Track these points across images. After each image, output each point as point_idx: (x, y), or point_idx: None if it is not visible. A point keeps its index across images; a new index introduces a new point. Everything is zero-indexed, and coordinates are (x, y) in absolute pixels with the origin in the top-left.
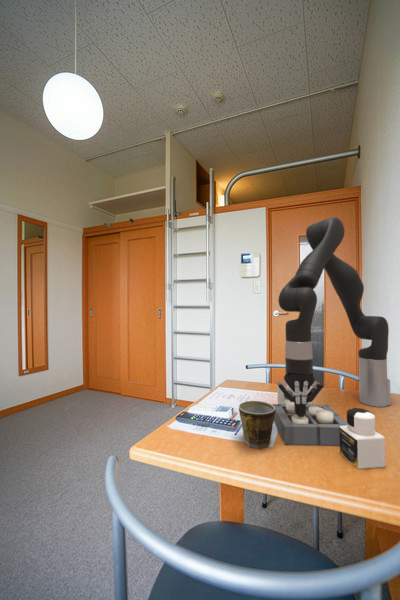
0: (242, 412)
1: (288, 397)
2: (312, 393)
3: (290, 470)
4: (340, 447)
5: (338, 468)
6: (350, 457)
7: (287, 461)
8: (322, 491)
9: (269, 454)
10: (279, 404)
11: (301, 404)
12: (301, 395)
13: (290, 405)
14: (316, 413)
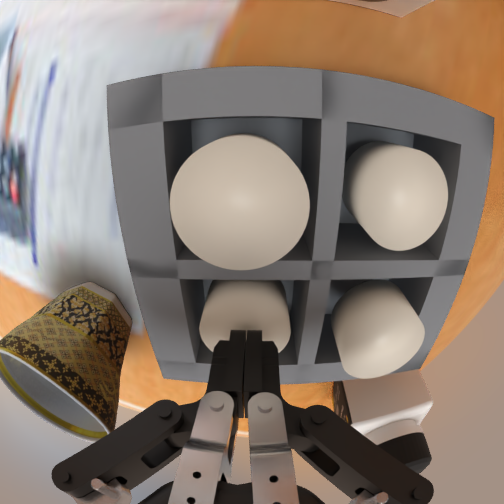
0: (30, 403)
1: (156, 448)
2: (327, 479)
3: (186, 403)
4: None
5: (293, 400)
6: (335, 398)
7: (182, 384)
8: None
9: (138, 362)
10: (153, 82)
11: (247, 417)
12: (261, 441)
13: (202, 252)
14: (341, 352)
